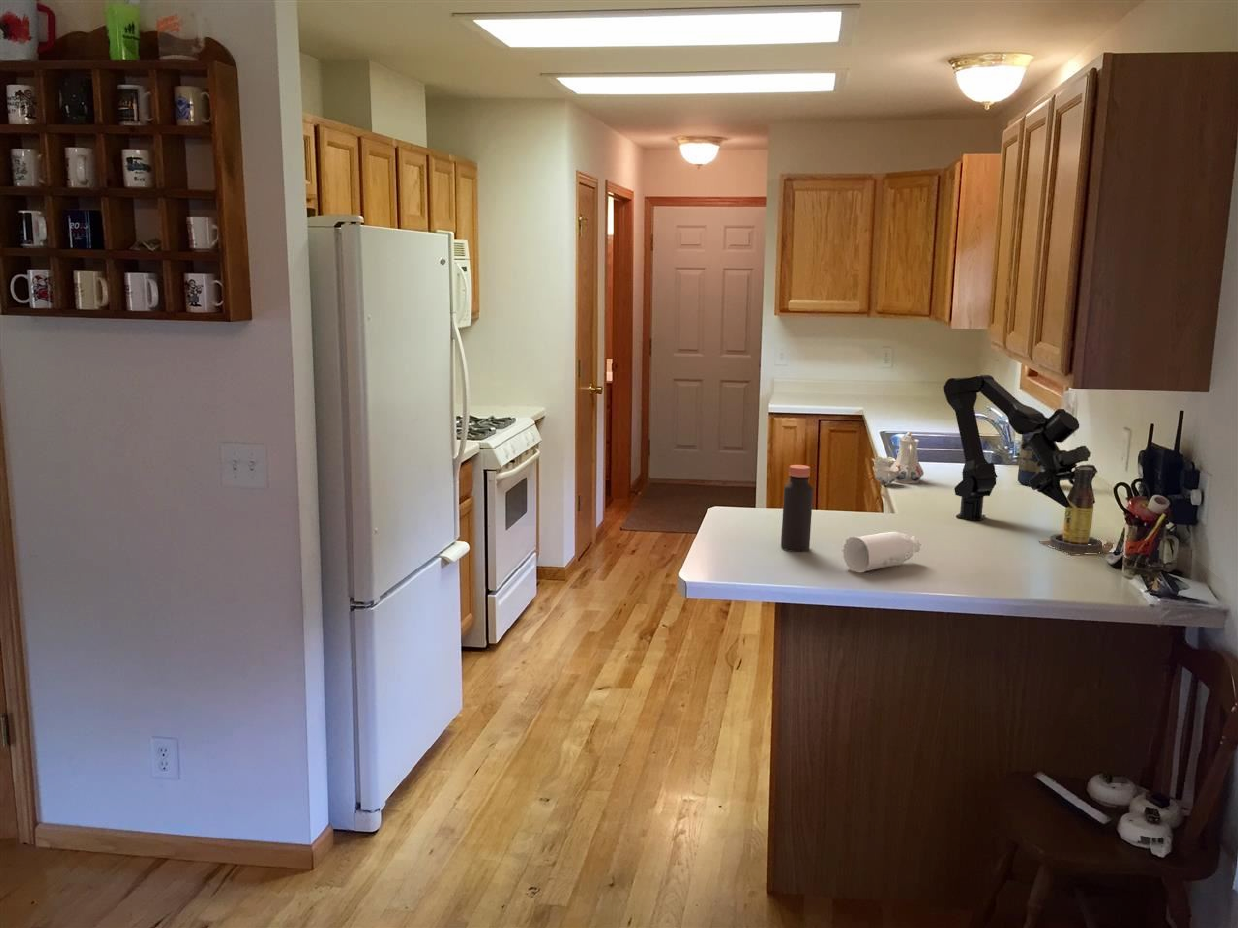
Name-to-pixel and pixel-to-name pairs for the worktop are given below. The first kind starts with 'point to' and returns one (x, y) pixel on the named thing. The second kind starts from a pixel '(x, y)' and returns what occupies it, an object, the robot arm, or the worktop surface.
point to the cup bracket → (1078, 549)
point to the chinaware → (900, 464)
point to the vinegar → (797, 510)
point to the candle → (1027, 463)
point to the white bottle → (879, 551)
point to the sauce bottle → (1079, 508)
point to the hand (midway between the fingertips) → (1080, 505)
